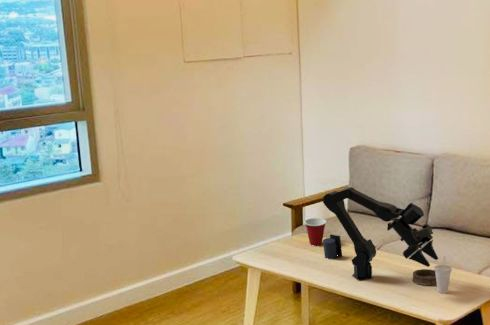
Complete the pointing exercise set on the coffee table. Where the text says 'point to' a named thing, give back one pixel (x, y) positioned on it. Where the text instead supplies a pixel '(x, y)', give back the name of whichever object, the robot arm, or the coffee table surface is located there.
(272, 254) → the coffee table surface
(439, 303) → the coffee table surface
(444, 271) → the smoothie
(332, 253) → the speaker
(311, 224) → the plastic cup
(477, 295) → the coffee table surface
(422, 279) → the bowl
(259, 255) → the coffee table surface
